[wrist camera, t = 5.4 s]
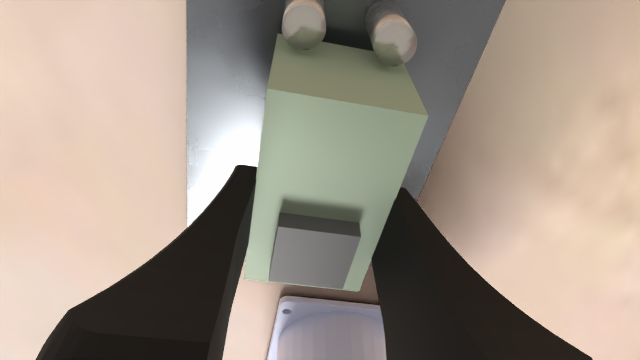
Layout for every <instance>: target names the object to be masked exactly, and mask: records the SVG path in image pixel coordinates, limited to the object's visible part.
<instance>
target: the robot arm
mask: <svg viewBox="0 0 640 360" xmlns="http://www.w3.org/2000/svg"><path fill="white" fill-rule="evenodd" d="M256 173H257V167H256V166H249V165H242V164H238V165H237V166H235V168H234V170H233V172H232V173H231V175H230V177H229V178H228V180H227V181H226V183H225V184H224V186H223V187H222V188H221V190H220V191H219V192H218V194H217V195H216V196H215V197H214V199H213V200H212V201H211V202H210V204H209V205H208V206H207V207H206V208H205V209H204V210H203V212H202V213H201V214H200V215H199V216H198V217H197V218H196V219H195V220H194V221H193V222H192V223H191V224H190V225H189V226H188V227H187V228H186V229H185V230H184V231H183V232H182V233H181V234H180V235H179V236H178V237H177V238H176V239H174V240H173V241H172V242H171V243H170V244H169V245H168V246H166V247H165V248H164V249H163V250H161V251H160V252H159V253H158V254H156V255H155V256H154V257H153V258H151V259H150V260H149V261H147V262H146V263H145V264H143V265H142V266H141V267H139V268H138V269H136V270H135V271H133V272H132V273H130V274H129V275H127V276H126V277H124V278H123V279H121V280H120V281H118V282H117V283H115V284H114V285H112V286H110V287H109V288H107V289H105V290H104V291H102V292H100V293H98V294H97V295H95V296H93V297H91V298H90V299H88V300H86V301H84V302H82V303H81V304H79V305H77V306H75V307H73V308H71V309H70V310H68V312H67V313H66V314H65V315H64V317H63V318H62V319H61V321H60V322H59V323H58V325H57V326H56V327H55V329H54V330H53V332H52V333H51V334H50V336H49V337H48V339H47V340H46V342H45V344H44V345H43V347H42V349H41V351H40V352H39V354H38V356H37V358H36V360H222V357H223V351H224V345H225V339H226V333H227V328H228V322H229V317H230V312H231V308H232V304H233V300H234V296H235V292H236V289H237V285H238V281H239V278H240V274H241V270H242V266H243V263H244V259H245V255H246V251H247V248H248V244H249V236H250V228H251V220H252V212H253V204H254V196H255V188H256ZM371 260H372V266H373V271H374V277H375V282H376V288H377V293H378V298H379V304H380V305H372V304H363V303H353V302H344V301H334V300H325V299H315V298H306V297H296V296H284V297H282V298H281V299H280V301H279V305H278V310H277V314H276V319H275V324H274V328H273V333H272V337H271V342H270V347H269V351H268V356H267V360H593V359H592V358H591V357H590V356H588V355H586V354H585V353H583V352H582V351H580V350H579V349H577V348H575V347H574V346H572V345H571V344H569V343H567V342H566V341H564V340H563V339H561V338H559V337H558V336H556V335H555V334H553V333H552V332H550V331H549V330H547V329H546V328H545V327H543V326H542V325H540V324H539V323H538V322H536V321H535V320H533V319H532V318H531V317H529V316H528V315H527V314H525V313H524V312H523V311H521V310H520V309H519V308H517V307H516V306H515V305H514V304H512V303H511V302H510V301H509V300H508V299H506V298H505V297H504V296H503V295H501V294H500V293H499V292H498V291H497V290H496V289H494V288H493V287H492V286H491V285H490V284H489V283H488V282H487V281H485V280H484V279H483V278H482V277H481V276H480V275H479V274H478V273H477V272H476V271H475V270H474V269H473V268H472V267H471V266H470V265H469V264H468V263H467V262H466V261H465V260H464V259H463V258H462V257H461V256H460V255H459V253H458V252H457V251H456V250H455V249H454V248H453V247H452V246H451V245H450V244H449V242H448V241H447V240H446V239H445V238H444V236H443V235H442V234H441V233H440V232H439V230H438V229H437V228H436V227H435V225H434V224H433V223H432V222H431V220H430V219H429V218H428V217H427V215H426V214H425V213H424V211H423V210H422V209H421V207H420V206H419V205H418V203H417V202H416V201H415V199H414V198H413V197H412V196H411V194H410V193H409V192H408V190H407V189H406V188H402V187H400V189H399V192H398V194H397V197H396V199H395V200H394V202H393V205H392V207H391V210H390V213H389V215H388V218H387V220H386V223H385V225H384V228H383V230H382V233H381V235H380V238H379V240H378V243H377V245H376V248H375V251H374V253H373V256H372V258H371Z"/></svg>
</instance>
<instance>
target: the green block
mask: <svg viewBox="0 0 640 360" xmlns="http://www.w3.org/2000/svg"><path fill="white" fill-rule="evenodd" d="M427 119H428V114H427V112H426V109H425V107H424V105H423V103H422V101H421V99H420V97H419V95H418V93H417V90H416V88H415V86H414V84H413V82H412V80H411V78H410V76H409V73H408V71H407V69H406V67H405V65H404V64H403V65H400V66H394V67H392V66H387V65H384V64H383V63H381V62H380V61H379V60H378V59H377V57H376V55H375V52H374V51H369V50H364V49H359V48H353V47H348V46H342V45H337V44H332V43H326V42H321V43H320V44H319V45H318V46H316V47H315V48H313V49H310V50H299V49H296V48H294V47H292V46H291V45H290V44H288V42H287V41H286V40H285V38H284V36H283V34H278V35H277V40H276V45H275V50H274V55H273V60H272V65H271V71H270V76H269V81H268V86H267V93H266V101H265V109H264V117H263V125H262V133H261V141H260V149H259V157H258V165H257V173H256V188H255V196H254V204H253V212H252V220H251V228H250V236H249V244H248V248H247V253H246V261H245V270H244V278H243V279H245V280H254V281H263V282H272V283H282V284H291V285H300V286H309V287H319V288H328V289H337V290H346V291H356V292H359V290H360V288H361V285H362V283H363V280H364V278H365V275H366V273H367V270H368V268H369V265H370V262H371V258H372V256H373V253H374V251H375V248H376V245H377V243H378V240H379V238H380V235H381V233H382V230H383V228H384V225H385V223H386V220H387V218H388V215H389V213H390V210H391V207H392V205H393V202H394V200H395V199H396V197H397V194H398V192H399V189H400V187H401V184H402V182H403V179H404V177H405V174H406V172H407V169H408V167H409V164H410V161H411V159H412V156H413V154H414V151H415V149H416V146H417V144H418V141H419V139H420V136H421V134H422V131H423V129H424V126H425V124H426V121H427Z"/></svg>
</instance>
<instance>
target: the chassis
mask: <svg viewBox="0 0 640 360" xmlns="http://www.w3.org/2000/svg"><path fill="white" fill-rule="evenodd" d="M505 1H506V0H187V227H188V226H189V225H190V224H191V223H192V222H193V221H194V220H195V219H196V218H197V217H198V216H199V215H200V214H201V213H202V212H203V210H204V209H205V208H206V207H207V206H208V205H209V204H210V202H211V201H212V200H213V199H214V197H215V196H216V195H217V194H218V192H219V191H220V190H221V188H222V187H223V186H224V184H225V183H226V181H227V180H228V178H229V177H230V175H231V173H232V172H233V170H234V168H235V166H237V165H238V164H242V165H249V166H256V167H257V165H258V157H259V149H260V141H261V133H262V125H263V117H264V109H265V101H266V93H267V86H268V81H269V76H270V71H271V65H272V60H273V55H274V50H275V45H276V40H277V35H278V34H283V36H284V38H285V40H286V41H287V42H288V44H290V45H291V46H292V47H294V48H296V49H299V50H310V49H313V48H315V47H316V46H318V45H319V44H320V43H321V42H326V43H332V44H337V45H342V46H348V47H353V48H359V49H364V50H369V51H374V52H375V55H376V57H377V59H378V60H379V61H380V62H381V63H383V64H384V65H387V66H392V67H394V66H400V65H403V64H404V65H405V67H406V69H407V71H408V73H409V76H410V78H411V80H412V82H413V84H414V86H415V88H416V90H417V93H418V95H419V97H420V99H421V101H422V103H423V105H424V107H425V109H426V112H427V114H428V119H427V121H426V124H425V126H424V129H423V131H422V134H421V136H420V139H419V141H418V144H417V146H416V149H415V151H414V154H413V156H412V159H411V161H410V164H409V167H408V169H407V172H406V174H405V177H404V179H403V182H402V184H401V187H402V188H406V189H407V190H408V192H409V193H410V194H411V196H412V197H413V198H414V199H415V201H416V202H417V199H418V197H419V195H420V193H421V190H422V188H423V186H424V184H425V181H426V179H427V177H428V174H429V172H430V170H431V168H432V165H433V163H434V161H435V159H436V156H437V154H438V152H439V150H440V147H441V145H442V143H443V141H444V138H445V136H446V134H447V132H448V129H449V127H450V125H451V123H452V120H453V118H454V116H455V114H456V111H457V109H458V107H459V105H460V102H461V100H462V98H463V95H464V93H465V91H466V89H467V86H468V84H469V82H470V80H471V77H472V75H473V73H474V71H475V68H476V66H477V64H478V62H479V59H480V57H481V55H482V53H483V50H484V48H485V46H486V44H487V41H488V39H489V37H490V35H491V32H492V30H493V28H494V26H495V23H496V21H497V19H498V16H499V14H500V12H501V10H502V7H503V5H504V3H505ZM370 264H371V265H372V260H371V262H370Z"/></svg>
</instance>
